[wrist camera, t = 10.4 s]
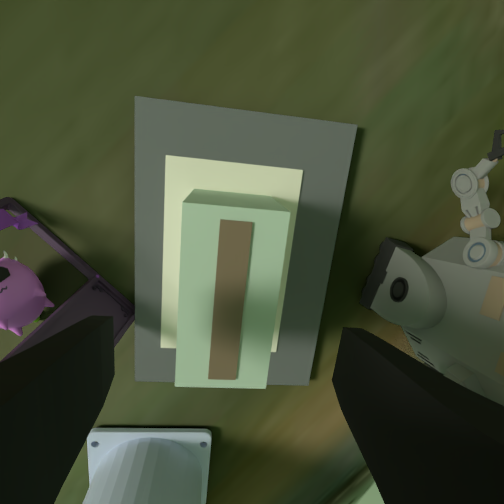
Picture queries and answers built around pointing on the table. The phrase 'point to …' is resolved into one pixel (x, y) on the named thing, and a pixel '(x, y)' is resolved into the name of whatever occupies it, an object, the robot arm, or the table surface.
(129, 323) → the game card
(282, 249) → the mint slotted box
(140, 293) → the mat
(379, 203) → the table surface
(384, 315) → the figurine
